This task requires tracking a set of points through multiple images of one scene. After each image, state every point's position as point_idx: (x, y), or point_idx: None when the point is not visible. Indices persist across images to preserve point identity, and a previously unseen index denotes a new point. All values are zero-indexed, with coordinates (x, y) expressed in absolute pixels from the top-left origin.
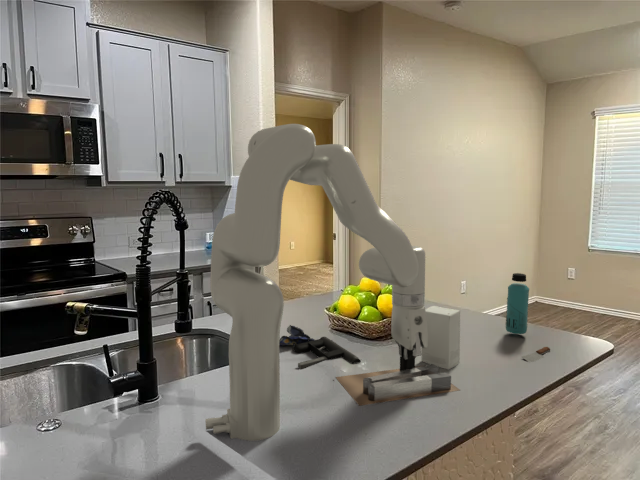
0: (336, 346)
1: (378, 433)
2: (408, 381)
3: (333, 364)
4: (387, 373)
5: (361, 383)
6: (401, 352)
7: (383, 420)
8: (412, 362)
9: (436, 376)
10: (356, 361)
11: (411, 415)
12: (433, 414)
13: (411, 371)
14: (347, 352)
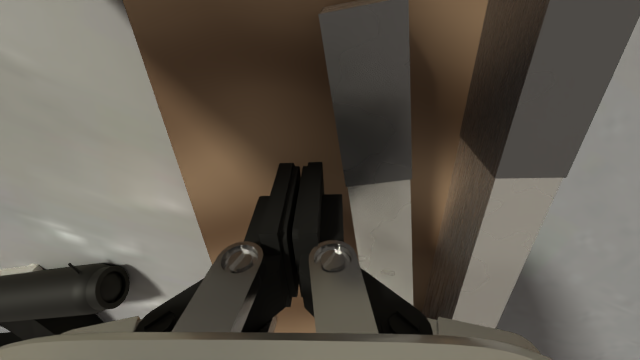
0: None
1: (571, 345)
2: (502, 295)
3: (98, 314)
4: (234, 230)
5: (310, 327)
6: (273, 331)
7: (524, 319)
8: (342, 236)
9: (559, 127)
10: (108, 294)
11: (557, 250)
12: (615, 180)
13: (392, 235)
14: (34, 315)
